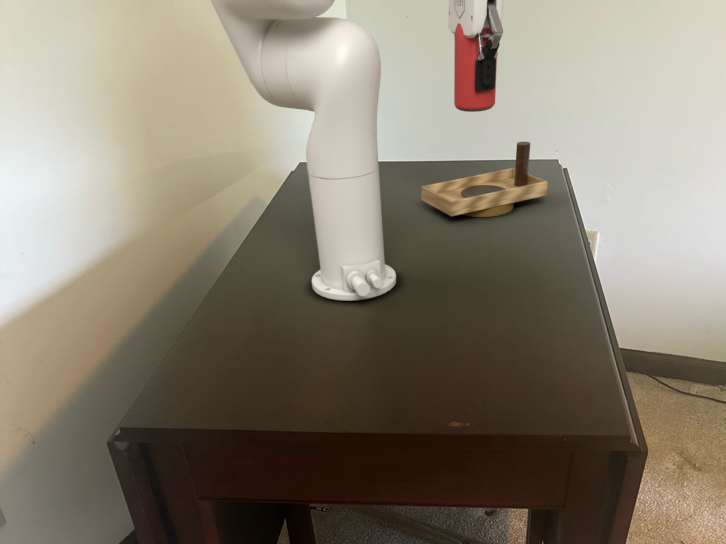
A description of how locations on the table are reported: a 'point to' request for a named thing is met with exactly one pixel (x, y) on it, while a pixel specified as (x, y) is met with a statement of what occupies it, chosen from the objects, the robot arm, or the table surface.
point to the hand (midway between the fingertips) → (475, 85)
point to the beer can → (469, 75)
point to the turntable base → (491, 211)
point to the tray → (487, 188)
